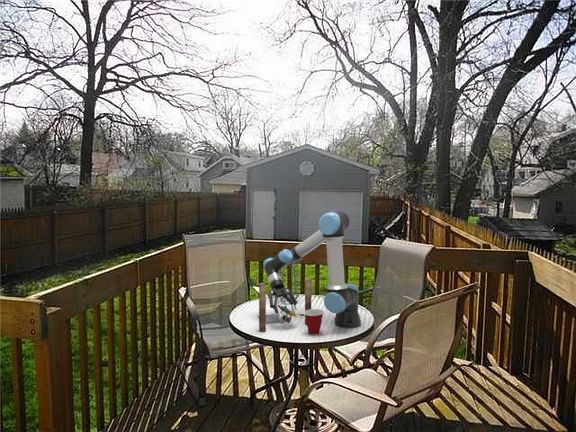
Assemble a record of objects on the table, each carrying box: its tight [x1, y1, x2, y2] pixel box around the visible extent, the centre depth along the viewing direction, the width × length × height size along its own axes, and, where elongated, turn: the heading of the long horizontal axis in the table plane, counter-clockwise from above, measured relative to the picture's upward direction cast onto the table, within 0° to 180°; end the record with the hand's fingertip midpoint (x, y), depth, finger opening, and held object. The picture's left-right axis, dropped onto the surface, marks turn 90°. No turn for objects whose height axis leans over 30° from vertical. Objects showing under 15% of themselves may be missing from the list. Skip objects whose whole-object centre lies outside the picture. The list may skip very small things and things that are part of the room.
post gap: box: [258, 278, 313, 333], centre depth 246 cm, size 4×32×26 cm, turn 116°
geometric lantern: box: [278, 259, 302, 305], centre depth 299 cm, size 16×16×35 cm
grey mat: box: [257, 313, 284, 325], centre depth 263 cm, size 14×14×1 cm
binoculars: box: [277, 304, 295, 324], centre depth 246 cm, size 9×9×10 cm
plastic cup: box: [303, 308, 325, 336], centre depth 238 cm, size 11×11×12 cm
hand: (288, 316), depth 244 cm, fingers closed on binoculars, 9 cm apart
